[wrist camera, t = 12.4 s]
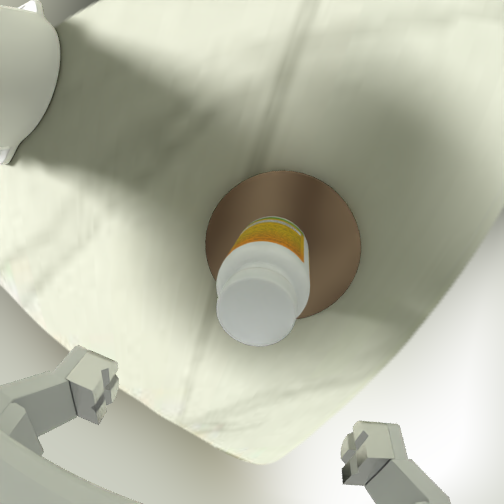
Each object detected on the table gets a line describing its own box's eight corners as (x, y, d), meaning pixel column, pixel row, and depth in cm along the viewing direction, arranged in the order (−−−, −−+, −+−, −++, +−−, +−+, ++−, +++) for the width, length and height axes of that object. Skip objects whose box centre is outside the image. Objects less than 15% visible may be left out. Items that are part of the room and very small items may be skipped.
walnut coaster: (198, 292, 28) (195, 297, 27) (225, 154, 24) (221, 155, 23) (331, 328, 27) (331, 334, 26) (378, 195, 23) (381, 197, 22)
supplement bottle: (227, 228, 25) (183, 282, 16) (294, 204, 23) (288, 247, 14) (253, 290, 26) (228, 366, 17) (318, 270, 25) (324, 343, 16)
